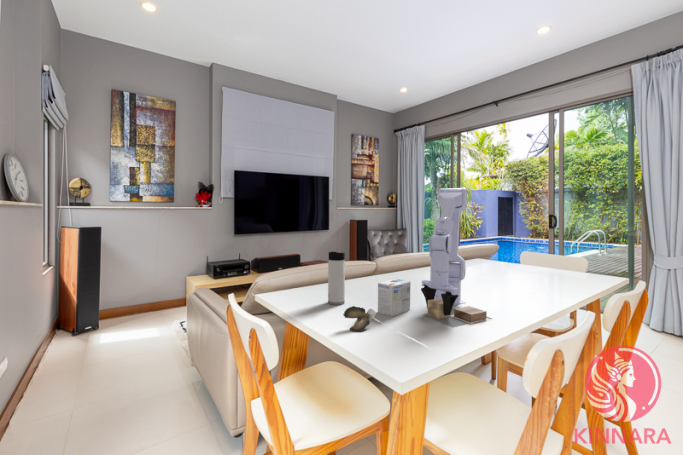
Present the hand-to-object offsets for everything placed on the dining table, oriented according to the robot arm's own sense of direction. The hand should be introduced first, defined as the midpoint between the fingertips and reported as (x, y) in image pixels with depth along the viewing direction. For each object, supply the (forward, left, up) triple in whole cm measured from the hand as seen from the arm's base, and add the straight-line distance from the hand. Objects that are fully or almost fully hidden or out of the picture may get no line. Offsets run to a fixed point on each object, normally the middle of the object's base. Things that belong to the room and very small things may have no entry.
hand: (438, 311), depth 108 cm
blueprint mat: (+3, +5, -2) cm, 6 cm away
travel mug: (-30, -23, -2) cm, 38 cm away
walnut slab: (+6, +8, -1) cm, 10 cm away
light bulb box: (-11, -10, -2) cm, 15 cm away
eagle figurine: (-4, -28, -2) cm, 28 cm away
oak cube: (0, 0, -1) cm, 1 cm away
